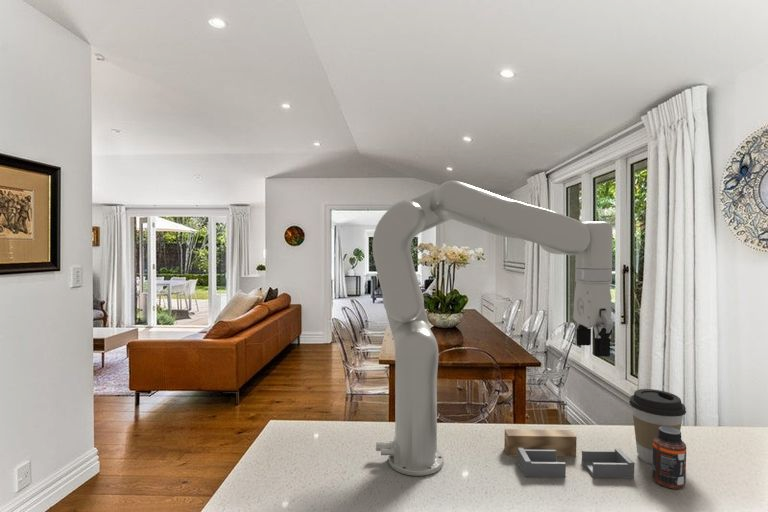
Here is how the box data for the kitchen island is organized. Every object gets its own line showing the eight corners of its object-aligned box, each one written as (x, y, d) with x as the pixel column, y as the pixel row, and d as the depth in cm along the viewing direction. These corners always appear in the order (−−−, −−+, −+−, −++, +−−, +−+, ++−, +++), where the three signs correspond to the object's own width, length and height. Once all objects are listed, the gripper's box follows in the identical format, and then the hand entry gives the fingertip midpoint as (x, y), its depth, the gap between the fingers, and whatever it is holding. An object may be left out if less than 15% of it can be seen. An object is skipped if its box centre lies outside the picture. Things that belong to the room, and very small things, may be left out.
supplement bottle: (690, 492, 90) (692, 437, 90) (658, 488, 91) (660, 434, 91) (677, 476, 96) (679, 425, 96) (647, 473, 97) (648, 422, 97)
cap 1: (525, 476, 96) (525, 461, 96) (517, 462, 102) (517, 447, 102) (565, 477, 96) (565, 461, 96) (555, 462, 102) (555, 448, 102)
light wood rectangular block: (507, 456, 105) (508, 435, 105) (504, 449, 109) (504, 429, 109) (576, 457, 105) (576, 436, 105) (570, 450, 108) (570, 430, 108)
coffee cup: (696, 471, 98) (699, 404, 97) (645, 471, 98) (647, 405, 97) (664, 447, 109) (665, 387, 109) (618, 447, 109) (619, 387, 109)
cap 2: (619, 463, 101) (620, 448, 101) (634, 478, 95) (634, 462, 95) (581, 462, 102) (581, 448, 102) (593, 477, 96) (593, 462, 95)
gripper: (562, 272, 110) (562, 341, 110) (592, 280, 92) (591, 361, 93) (593, 272, 109) (592, 341, 110) (629, 279, 92) (628, 361, 93)
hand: (592, 350), depth 102 cm, fingers open, 9 cm apart
